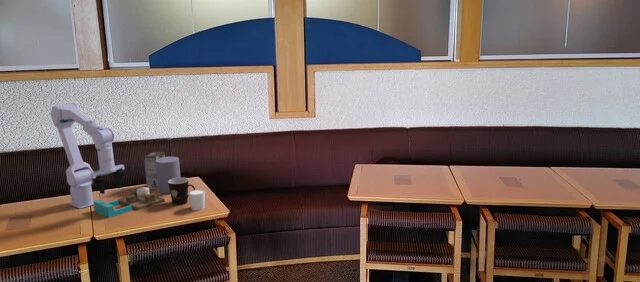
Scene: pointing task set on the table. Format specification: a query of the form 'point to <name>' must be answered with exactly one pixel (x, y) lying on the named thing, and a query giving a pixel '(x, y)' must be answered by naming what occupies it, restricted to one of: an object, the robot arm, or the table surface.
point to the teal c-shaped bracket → (109, 208)
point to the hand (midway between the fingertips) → (110, 190)
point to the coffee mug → (179, 190)
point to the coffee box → (152, 169)
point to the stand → (141, 199)
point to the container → (166, 172)
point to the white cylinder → (197, 199)
